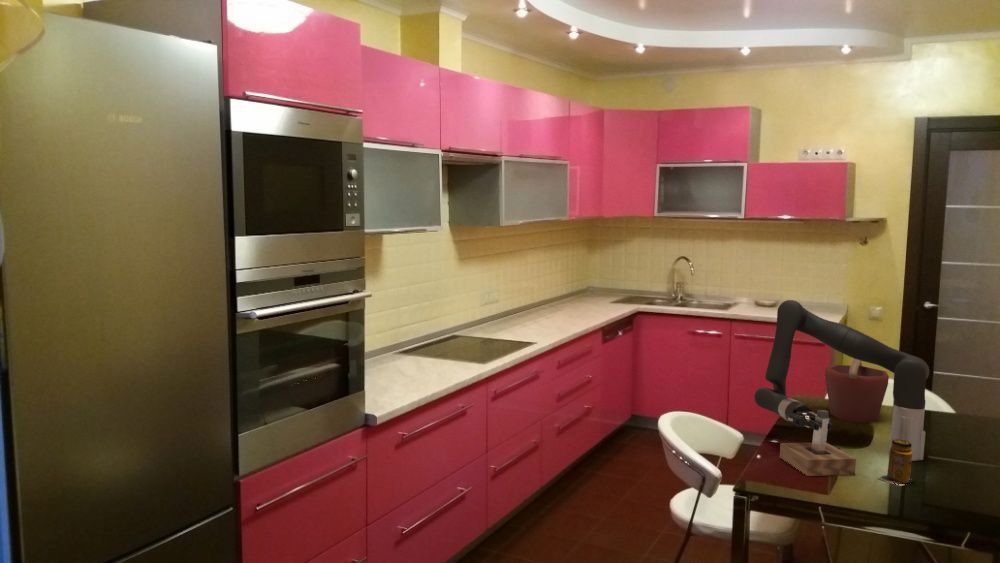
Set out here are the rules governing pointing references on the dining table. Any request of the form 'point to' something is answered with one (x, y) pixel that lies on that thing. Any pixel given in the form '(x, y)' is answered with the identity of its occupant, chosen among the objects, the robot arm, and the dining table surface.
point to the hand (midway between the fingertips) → (824, 427)
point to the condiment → (899, 462)
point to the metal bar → (820, 433)
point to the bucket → (855, 391)
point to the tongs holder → (817, 460)
